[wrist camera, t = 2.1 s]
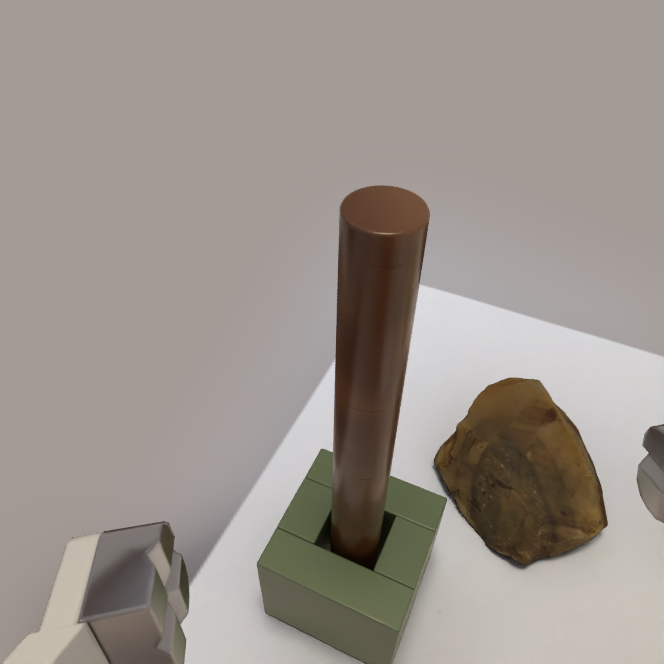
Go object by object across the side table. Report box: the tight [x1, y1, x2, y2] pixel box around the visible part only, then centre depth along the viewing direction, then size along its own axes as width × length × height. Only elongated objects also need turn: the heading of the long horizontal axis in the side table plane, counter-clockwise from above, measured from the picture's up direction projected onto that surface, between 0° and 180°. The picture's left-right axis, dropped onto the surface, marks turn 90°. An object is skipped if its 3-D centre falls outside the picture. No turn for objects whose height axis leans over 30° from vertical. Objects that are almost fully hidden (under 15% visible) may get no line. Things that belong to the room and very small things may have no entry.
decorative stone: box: [434, 378, 608, 565], centre depth 36 cm, size 10×9×4 cm
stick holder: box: [257, 449, 447, 664], centre depth 31 cm, size 7×7×6 cm
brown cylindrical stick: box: [330, 186, 430, 571], centre depth 24 cm, size 2×2×24 cm
